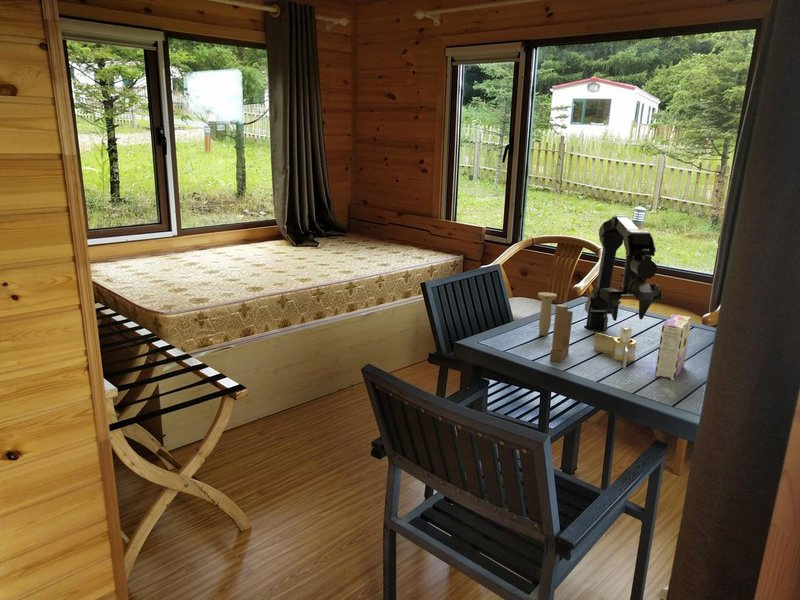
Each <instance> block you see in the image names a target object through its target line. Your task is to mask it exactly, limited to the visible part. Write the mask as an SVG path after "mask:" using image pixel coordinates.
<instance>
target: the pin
mask: <svg viewBox="0 0 800 600" xmlns="http://www.w3.org/2000/svg"><path fill="white" fill-rule="evenodd" d="M632 331H633V330H632V328H631V327H628V326H622V327H620V335H619V337H620V341H619V342H623V343H630V339H632V338H631V337H632Z"/></svg>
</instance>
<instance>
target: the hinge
mask: <svg viewBox="0 0 800 600" xmlns="http://www.w3.org/2000/svg"><path fill="white" fill-rule="evenodd" d="M619 341H620V336H617V337H615V336H613V335H612V336H610V335H608V334H604V333H600V332H598V331H596V332H595V335H594V342H593V351H597V352H600V353H603V354H607V355H609V354H610V356H611V357H612V359H613V360H616V361H618V360H619V361H618V362H621V361H622V363H623V364H622V367H623V368H622V369H623V370H626V368H627V362H628V363H630V362H633V361H635V357H636V349H637V341H636V340H635V339H633V338H631V339H630V343H623V342H619Z"/></svg>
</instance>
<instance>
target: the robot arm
mask: <svg viewBox="0 0 800 600" xmlns="http://www.w3.org/2000/svg"><path fill="white" fill-rule="evenodd" d="M598 238H599V242H600V243H601V246H602V249H601V258H600V262H599V269H598V274H597V282H596V284H595V286H594V288H592V290H591V291H590V294H589V297H588V299H587V300H586V302H585V303H584V311H585V312H586V313H587V316H586V317H587V318H586V325H584V326H583V327H584V329H588V330H592V331H596V332H602V331H605V330H607V329H608V328H609V327H608V323H609V317H608V315H611V317H612V320H613V321H615V322H616V321H617V319H618V315H619V314H618V312H619V306H620V305H621V304H622V301H621V299H622V298H624V297H625V298H626V297H635V299H636V300H637V301H638V319H639V320H643V319H644V316H645V315H646V314H647V312H648V310H649V308H650V306H651V305H652V304H653V303H655V302H658V300H662V299H663V291H662V289H660V285H659V284H658V283H647V280H649V279H651V278H653V277H654V276H655V275H656V274H657V271H658V267H657V263H656V262H655V261H653V260H652V257H655V256H656V255H655V254H656V253H655V252H656V246H655V242H654V239H653V236H652V234H651V232H650V231H648V230H646V229H642V228H641V229H640V228H638V227H637V226H636V224H634V222H632V220H631V219H630V216H627V215H617V214H616V215H613V216H612V217H611V218H610V219H608V220H607V221H604V222H602V224H601V226H600V227H599V229H598ZM621 246H624V250H625V255H626V256H625V262H624V270H623V272H621V274H620V276H621V277H622V278H623V279H622V285H619V290H618V289H616V288H614V287H611V284H612V278H613V274H614V273H613V272H614V268H615V262H616V256H617V251H618V250H619V248H621Z"/></svg>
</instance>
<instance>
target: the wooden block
mask: <svg viewBox="0 0 800 600" xmlns="http://www.w3.org/2000/svg"><path fill="white" fill-rule="evenodd" d="M568 308H569V306H568V305H566V304H562V303H561V304H560V303H559V304H556V305H555V311H554V312H555V313H554V323H553V333H552V342H551V350H550V354H549V361H552V362H556V363H562V362H563V360H564V359H565V357H566V356H567V355H568V353H569V349H570V340H571V332H572V323H573V313H574V312H573V311H571V310H568ZM561 361H562V362H561Z"/></svg>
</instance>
